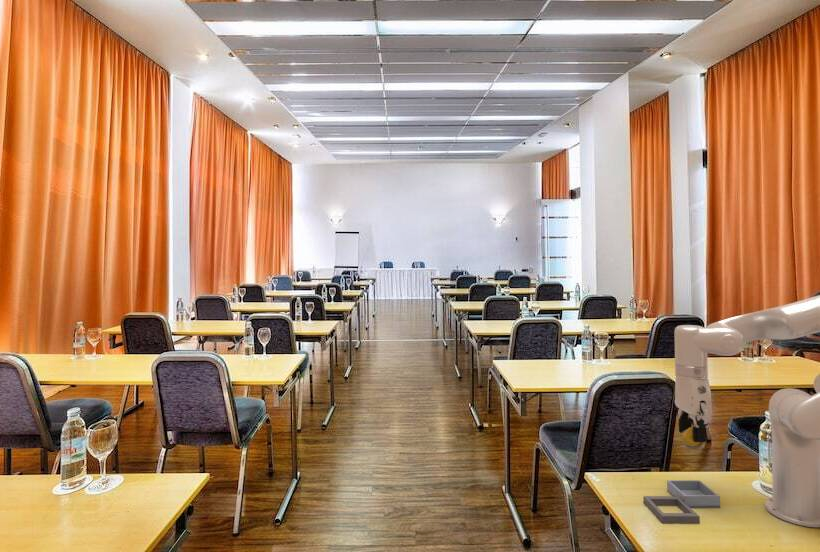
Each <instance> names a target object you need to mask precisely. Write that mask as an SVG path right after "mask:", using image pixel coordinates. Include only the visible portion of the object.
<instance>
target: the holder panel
mask: <svg viewBox="0 0 820 552" xmlns="http://www.w3.org/2000/svg"><path fill="white" fill-rule="evenodd" d="M643 504H644V505H645V506H646V507H647V508H648V509H649V510H650V512H652V514H653V515H654V516H655V517H656V519H658V521H660V522H661V524H689V525H690V524H695V525H697V524H699V525H701V521H700V518H701V517H700V515H699V514H698V513H697V512H696V511H694V510H693V508H690V507H689V506H688V505H687V504H686V503H685V502H683V501H682V500H681V499H680V498H679V497H678V496H672V495H670V496H669V495H662V496H661V495H643ZM658 506H659V507H661V506H662V507H663V506H664V507H667V506H670V507H672V506H673V507H678V508H679V509H680V510H681V511H682V512H663V511H662V510H661V509H660V508H659V507H658Z"/></svg>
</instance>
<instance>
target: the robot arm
mask: <svg viewBox="0 0 820 552" xmlns="http://www.w3.org/2000/svg"><path fill="white" fill-rule="evenodd" d="M817 333H820V294H819V295H815V296H811V297H809V298H805V299H802V300H797V301H794V302H792V303H791V302H790V303H788V304H787V303H786V304H784V305H783V304H782V305H780V306H774V307H771V308H766V309H763V310H759V311H753V312H748V313H745V314H744V313H743V314H740V315H737V316H732V317H728V318H726V319H722V320H718V321H715V322H713V323H710V324H709V325H707V326H706V327H704V326H701V325H695V324H694V325H693V324H683V325H677V326H676V327H675V328H674V373H675V374H674V375H675V383H674V404H675V406H676V410H677V417H678V432H679V433H680V434H681V433H682V432H683V431H684V430H686V429H688V428H689V427H691V428H692V429H693V441H694V442H704V443H707V428H708V427H709V424H710V422H711V421H712V419H713V418H712V415H713V403H712V402H713V401H712V391H711V386H710V382H709V379H708V377H709V376H708V375H709V374H708V373H709V372H708V354H713V355H718V356H723V357H724V356H728V357H729V356H735V355H739V354H740V353H741V352H742V351H743V350H744V349H745V346H746V343H748V342H753V341H760V340H761V341H762V340H782V341H783V340H794V339H798V338H802V337H806V336H809V335H813V334H817ZM813 389H814V390H815V392H816V393H815V394H813V395H812V394H809V393H808V392H805V391H803V390H801V389H797V388H791V387H787V388H782V389H779V390H777V391H776V392H774V393H773V394H772V396H771V397H770V399H769V403H768V414H769V420H770V429H771V466H772V467H771V469H772V470H771V477H772V479H771V482H772V485H771V486H772V492H771V493H772V497H770V498H767V499H766V500H765V502H764V507H765V510H767V511H768V512H769V513H770V514H772V515H773V516H774V517H776V518H778V519H780V520H782V521H786V522H788V523H791V524H794V525H797V526H798V525H799V526H802V527H808V528H820V373H818V375H816V376H815V378H814V379H813ZM691 417H692V418H691ZM698 418H699V420H698ZM700 418H701V419H700ZM692 421H693V425H694V426H692Z"/></svg>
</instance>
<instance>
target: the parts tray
mask: <svg viewBox="0 0 820 552" xmlns="http://www.w3.org/2000/svg"><path fill="white" fill-rule="evenodd" d="M666 492H668V494H669V495H670V496H678V497H679V498H680V499H681V500H682V501H683V502H685V503H686V504H687V505H688V506H689V507H690V508H691V509H694V508H695V509H702V508H703V509H721V496H720V495H719V494H718V493H716V492H715V491H714V490H713V489H712V488H710V487H709V486H708V485H706V484H705V483H704V482H703V481H701V480H700V479H698V480H697V479H696V480H695V479H694V480H693V479H692V480H691V479H690V480H689V479H688V480H687V479H686V480H685V479H681V480H680V479H668V480H666Z"/></svg>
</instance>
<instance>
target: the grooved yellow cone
mask: <svg viewBox="0 0 820 552" xmlns="http://www.w3.org/2000/svg"><path fill="white" fill-rule="evenodd" d="M680 441H681V443H682V445H683V446H685V447H686V448H688V449H690V450H697V449H700V448H702V447H703V445H704V443H705V442H694V441H693V427H692V428H691V427H689V428H688V429H686V430H684V431H683V432H682V433H680Z"/></svg>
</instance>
